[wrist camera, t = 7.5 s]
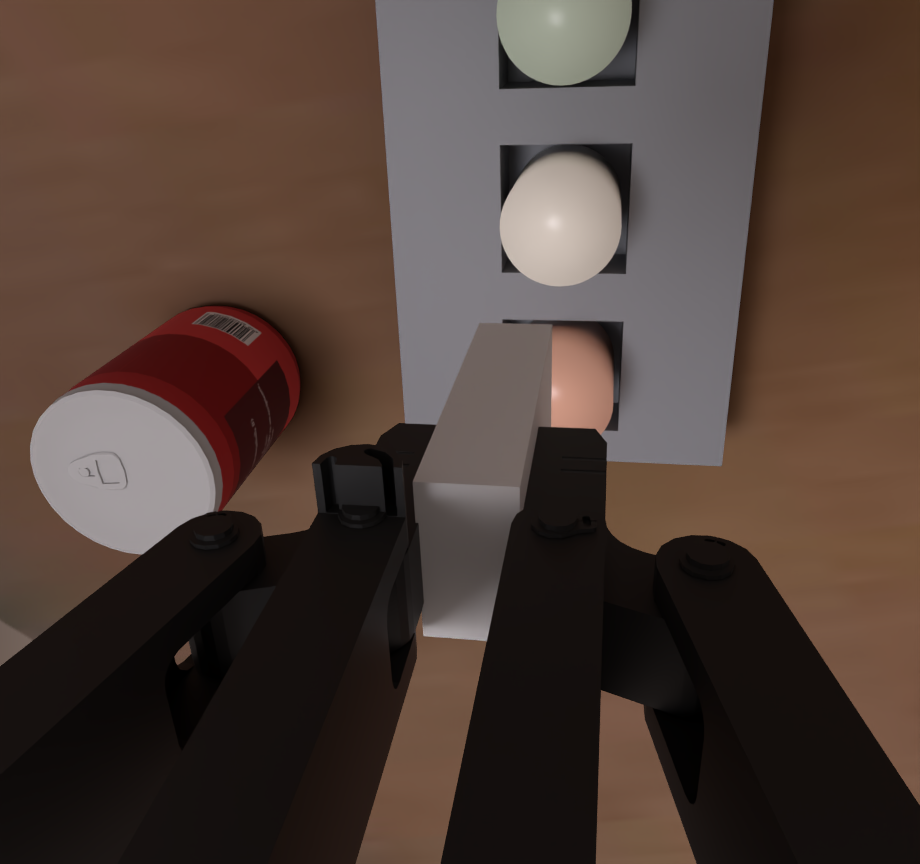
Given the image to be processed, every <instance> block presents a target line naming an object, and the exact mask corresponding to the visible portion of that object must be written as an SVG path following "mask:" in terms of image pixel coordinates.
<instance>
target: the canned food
mask: <svg viewBox="0 0 920 864" xmlns="http://www.w3.org/2000/svg"><path fill="white" fill-rule="evenodd" d="M300 384H301V383H300V372H299V368H298V364H297V361H296V358H295V356H294V354H293V352H292V350H291V348H290V346H289V345H288V343H287V342H286V341H285V340H284V338H283V337H282V336H281V334H280V333H279V332H278V331H276V330H275V329H274V328H273V327H272V326H271V325H270V324H269V323H267V322H266V321H264V320H262V319H261V318H259V317H258V316H256V315H254V314H251V313H249V312H247V311H244V310H242V309H237V308H233V307H229V306H206V307H199V308H192V309H190V310H187V311H184V312H182V313H179V314H177V315H176V316H174V317H173V318H171V319H170V320H168V321H167V322H166V323H164V324H163V325H161V326H160V327H158V328H157V329H155V330H154V331H153V332H151V333H150V334H148V335H147V336H145V337H144V338H143V339H141V340H140V341H138V342H137V343H135V344H134V345H133V346H131V347H130V348H128V349H127V350H125V351H124V352H123V353H121V354H120V355H118V356H117V357H115V358H114V359H112V360H111V361H110V362H108V363H107V364H105V365H104V366H102V367H101V368H100V369H98V370H97V371H95V372H94V373H92V374H91V375H90V376H88V377H87V378H85V379H84V380H82V381H81V382H80V383H78V384H77V385H75V386H74V387H72V388H71V389H70V390H69V391H68V392H66V393H65V394H63V395H62V396H61V397H59V398H58V399H57V400H56V401H55V402H54V403H53V404H52V405H51V406H50V407H49V408H48V409H47V410H46V411H45V412H44V413H43V414H42V416H41V417H40V418H39V420H38V422H37V424H36V426H35V428H34V430H33V434H32V439H31V444H30V454H31V464H32V468H33V472H34V476H35V479H36V481H37V483H38V485H39V487H40V489H41V492H42V493H43V495H44V496H45V498H46V499H47V501H48V502H49V504H50V505H51V506H52V508H53V509H54V510H55V511H56V512H57V513H58V514H59V515H60V516H61V517H62V518H63V520H64V521H66V522H67V523H68V524H69V525H71V526H72V527H73V528H74V529H76V530H77V531H78V532H80V533H81V534H83V535H85V536H86V537H88V538H90V539H91V540H93V541H95V542H97V543H99V544H102V545H104V546H107V547H109V548H111V549H115V550H119V551H123V552H127V553H134V554H144V553H145V552H146V551H148V550H149V549H150V548H151V547H153V546H154V545H155V544H156V543H158V542H159V541H160V540H162V539H163V538H164V537H165V536H167V535H168V534H169V533H170V532H172V531H173V530H174V529H176V528H177V527H178V526H180V525H182V524H183V523H185V522H187V521H188V520H190V519H192V518H195V517H198V516H201V515H204V514H206V513H209V512H214V511H217V512H219V511H222V509H223V508H224V507H225V506H226V504H227V503H228V502H229V500H230V499H231V498H232V496H233V495H234V494H235V493H236V491H237V490H238V489H239V487H240V486H241V485H242V483H243V482H244V481H245V480H246V478H247V477H248V476H249V474H250V473H251V472H252V470H253V469H254V468H255V467H256V465H257V464H258V463H259V461H260V460H261V459H262V457H263V456H264V455H265V454H266V452H267V451H268V450H269V448H270V447H271V446H272V444H273V443H274V442H275V441H276V439H277V438H278V437H279V435H280V434H281V433H282V431H283V430H284V429H285V427H286V426H287V425H288V423H289V422H290V420H291V419H292V417H293V416H294V413H295V411H296V408H297V406H298V401H299V394H300Z"/></svg>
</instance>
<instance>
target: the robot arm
mask: <svg viewBox="0 0 920 864" xmlns="http://www.w3.org/2000/svg"><path fill="white" fill-rule="evenodd" d="M551 397H552V324H510V323H479V325H478V328H477V330H476V332H475V335H474V337H473V339H472V342H471V344H470V347H469V349H468V351H467V354H466V356H465V358H464V361H463V363H462V366H461V368H460V370H459V373H458V375H457V377H456V380H455V382H454V385H453V387H452V389H451V392H450V394H449V396H448V399H447V401H446V404H445V406H444V408H443V411H442V413H441V415H440V418H439V420H438V423H437V425H434V424H408V423H399V424H397V425H396V426H394V427H393V428H391V429H390V430H388V431H387V432H385V433H384V434H383V435H381V437H380V438H379V440H378V442H377V444H376V445H370V444H362V445H349V446H345V447H341V448H336V449H333V450H331V451H329V452H327V453H325V454H322V455H320V456H319V457H318V458H317V459H316V460H315V461H314V462H313V463H312V468H313V476H314V483H315V491H316V499H317V507H318V514H317V516H316V518H315V519H314V521H313V523H312V525H311V526H310V528H309V529H308V530H305V531H300V532H295V533H289V534H281V535H274V536H266V537H263V532H262V526H261V523H260V522H259V521H258V520H257V519H256V518H255V517H254V516H252V515H249V514H246V513H244V512H237V511H219V512H217V511H214V512H209V513H206V514H204V515H201V516H198V517H195V518H192V519H190V520H188V521H187V522H185V523H183V524H182V525H180V526H178V527H177V528H176V529H174V530H173V531H172V532H170V533H169V534H168V535H167V536H165V537H164V538H163V539H162V540H160V541H159V542H158V543H156V544H155V545H154V546H153V547H151V548H150V549H149V550H148V551H146V552H145V553H144V554H142V555H141V556H140V557H139V558H137V559H136V560H135V561H134V562H132V563H131V564H130V565H128V566H127V567H126V568H125V569H123V570H122V571H121V572H120V573H118V574H117V575H116V576H114V577H113V578H112V579H111V580H109V581H108V582H107V583H106V584H104V585H103V586H102V587H100V588H99V589H98V590H97V591H95V592H94V593H93V594H92V595H90V596H89V597H88V598H86V599H85V600H84V601H83V602H81V603H80V604H79V605H78V606H76V607H75V608H74V609H72V610H71V611H70V612H69V613H67V614H66V615H65V616H64V617H62V618H61V619H60V620H58V621H57V622H56V623H55V624H53V625H52V626H51V627H50V628H48V629H47V630H46V631H45V632H43V633H42V634H41V635H39V636H38V637H37V638H36V639H34V640H33V641H32V642H31V643H29V644H28V645H27V646H25V647H24V648H23V649H22V650H20V651H19V652H18V653H17V654H15V655H14V656H13V657H12V658H10V659H9V660H8V661H6V662H5V663H4V664H3V665H1V666H0V864H355V863H356V860H357V857H358V853H359V850H360V847H361V843H362V840H363V837H364V833H365V830H366V827H367V823H368V820H369V816H370V813H371V810H372V806H373V803H374V800H375V796H376V793H377V790H378V786H379V783H380V780H381V776H382V773H383V770H384V766H385V763H386V760H387V756H388V753H389V750H390V746H391V743H392V740H393V736H394V733H395V729H396V726H397V723H398V719H399V716H400V713H401V709H402V706H403V703H404V699H405V696H406V693H407V689H408V686H409V683H410V679H411V676H412V673H413V669H414V666H415V663H416V659H417V644H416V631H415V629H416V626H417V623H418V620H419V617H420V614H421V611H422V621H423V635H424V636H431V637H444V638H456V639H469V640H482V641H487V643H486V648H485V652H484V657H483V662H482V667H481V672H480V676H479V681H478V686H477V691H476V696H475V701H474V705H473V710H472V715H471V720H470V725H469V729H468V734H467V739H466V744H465V749H464V754H463V758H462V763H461V768H460V773H459V778H458V783H457V787H456V792H455V797H454V802H453V807H452V811H451V816H450V821H449V826H448V831H447V836H446V840H445V845H444V850H443V855H442V860H441V864H596V834H597V800H598V766H599V733H600V699H601V690H603V691H606V692H608V693H611V694H614V695H617V696H620V697H623V698H626V699H629V700H632V701H635V702H637V703H640V704H643V705H644V714H645V721H646V723H647V726H648V729H649V732H650V735H651V737H652V740H653V743H654V746H655V748H656V751H657V754H658V757H659V760H660V762H661V765H662V768H663V771H664V774H665V776H666V779H667V782H668V785H669V788H670V790H671V793H672V796H673V799H674V801H675V804H676V807H677V810H678V813H679V815H680V818H681V821H682V824H683V827H684V829H685V832H686V835H687V838H688V841H689V843H690V846H691V849H692V852H693V855H694V857H695V860H696V863H697V864H920V805H919V804H918V802H917V801H916V799H915V798H914V796H913V795H912V793H911V792H910V790H909V789H908V787H907V785H906V784H905V782H904V781H903V779H902V778H901V776H900V775H899V773H898V772H897V770H896V769H895V767H894V766H893V764H892V763H891V761H890V760H889V758H888V757H887V755H886V754H885V752H884V751H883V749H882V748H881V746H880V745H879V743H878V742H877V740H876V739H875V737H874V736H873V734H872V733H871V731H870V730H869V728H868V727H867V725H866V724H865V722H864V721H863V719H862V717H861V716H860V714H859V713H858V711H857V710H856V708H855V707H854V705H853V704H852V702H851V701H850V699H849V698H848V696H847V695H846V693H845V692H844V690H843V689H842V687H841V686H840V684H839V683H838V681H837V680H836V678H835V677H834V675H833V674H832V672H831V671H830V669H829V668H828V666H827V665H826V663H825V662H824V660H823V659H822V657H821V656H820V654H819V653H818V651H817V649H816V648H815V646H814V645H813V643H812V642H811V640H810V639H809V637H808V636H807V634H806V633H805V631H804V630H803V628H802V627H801V625H800V624H799V622H798V621H797V619H796V618H795V616H794V615H793V613H792V612H791V610H790V609H789V607H788V606H787V604H786V603H785V601H784V600H783V598H782V597H781V595H780V594H779V592H778V591H777V589H776V588H775V586H774V585H773V583H772V581H771V580H770V578H769V577H768V575H767V574H766V572H765V571H764V569H763V568H762V566H761V565H760V563H759V562H758V560H757V559H756V558H755V557H754V556H753V555H752V554H751V553H750V552H749V551H748V550H747V549H745V548H743V547H741V546H739V545H737V544H735V543H733V542H731V541H729V540H725V539H722V538H717V537H713V536H698V535H690V536H685V537H680V538H675V539H673V540H671V541H669V542H667V543H665V544H664V545H662V546H661V547H660V549H659V551H658V552H657V554H656V555H653V554H649V553H645V552H642V551H639V550H637V549H634V548H631V547H629V546H627V545H625V544H624V543H622V542H620V541H619V540H618V539H616V538H615V537H614V536H613V535H612V534H611V533H610V531H609V530H608V528H607V526H606V521H605V505H606V466H607V442H606V441H605V440H604V439H603V437H602V436H601V435H600V434H599V432H598V431H597V430H596V429H589V428H564V427H551ZM188 641H189V645H190V649H191V653H192V654H191V655H190V656H189V657H188V658H187V659H186V660H185V661H184V662H182V663H181V664H179V665H177V664H176V662H175V658H174V656H175V655H176V653H177V652H178V650H179V649H180V648H181V647H183V646H184V645H185V644H186V643H187V642H188Z"/></svg>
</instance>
